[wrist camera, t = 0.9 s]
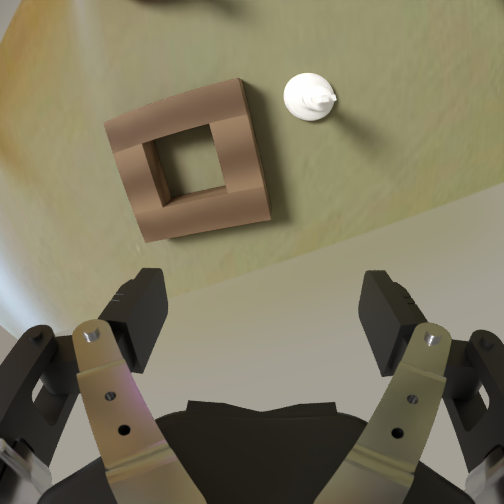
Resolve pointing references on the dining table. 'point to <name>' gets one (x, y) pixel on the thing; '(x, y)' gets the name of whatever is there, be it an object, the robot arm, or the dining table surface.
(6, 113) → the dining table surface
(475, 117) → the dining table surface
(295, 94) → the chess piece
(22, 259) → the dining table surface
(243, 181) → the socket block
